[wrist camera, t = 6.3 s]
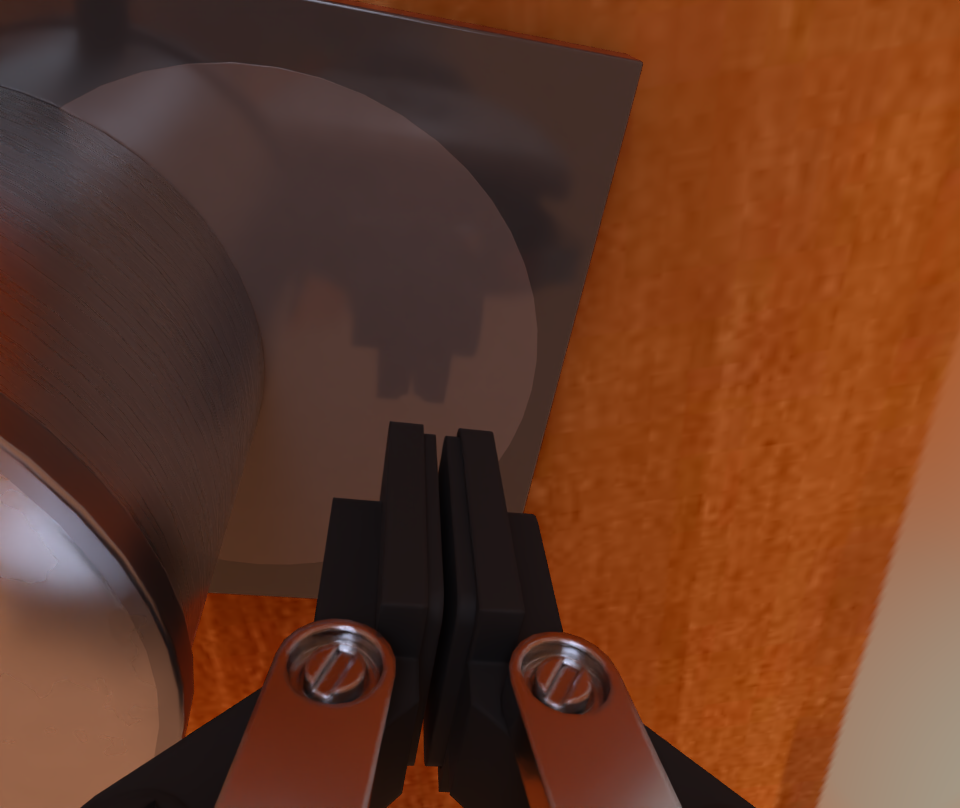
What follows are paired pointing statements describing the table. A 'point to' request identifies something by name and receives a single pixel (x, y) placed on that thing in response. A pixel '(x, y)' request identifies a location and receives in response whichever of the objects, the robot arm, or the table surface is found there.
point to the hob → (357, 221)
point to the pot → (107, 451)
